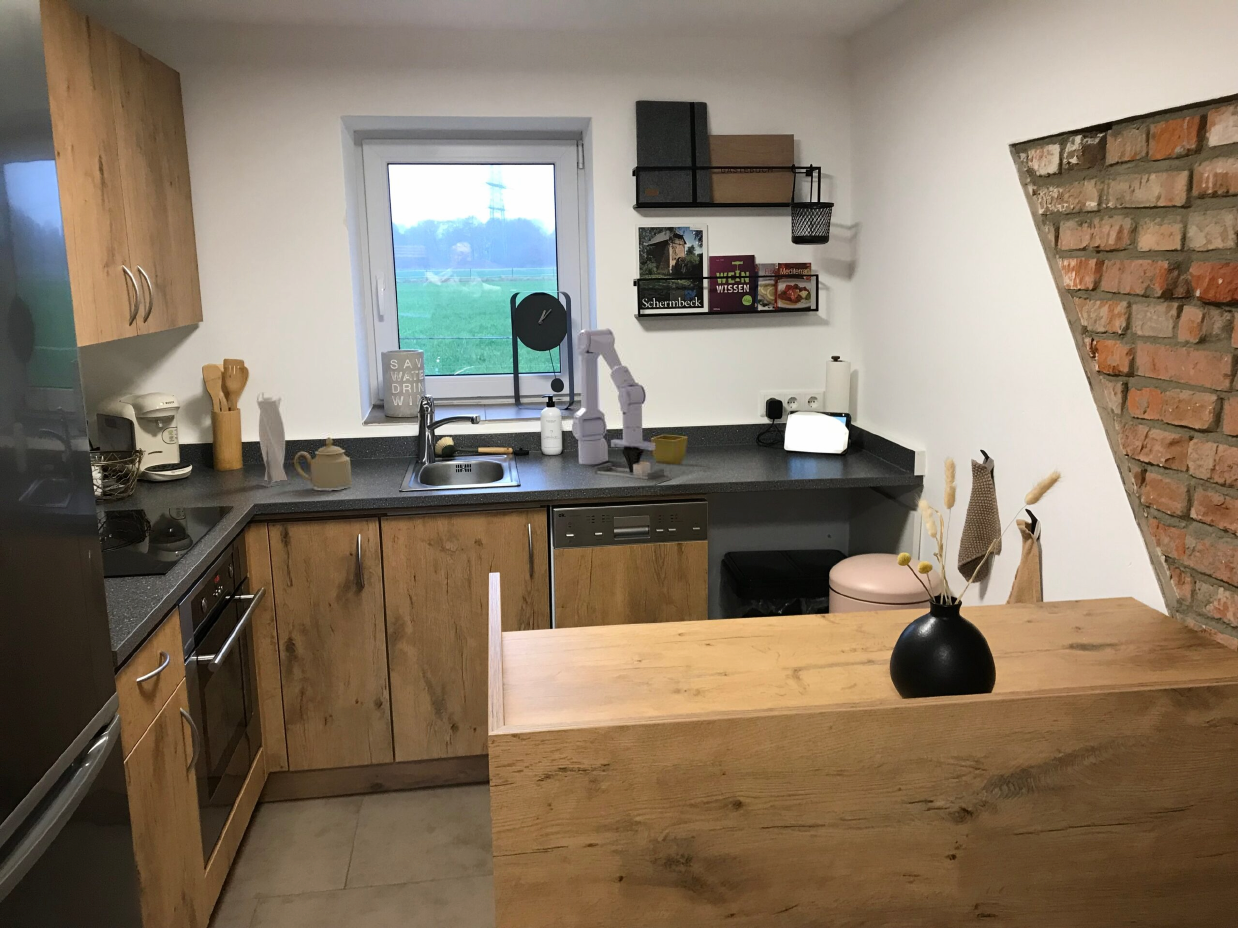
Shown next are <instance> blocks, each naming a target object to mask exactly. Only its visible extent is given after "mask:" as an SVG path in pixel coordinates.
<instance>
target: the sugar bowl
mask: <svg viewBox="0 0 1238 928" xmlns="http://www.w3.org/2000/svg"><path fill="white" fill-rule="evenodd" d="M325 444H326V446H323V447H320V448H319V449H318V450H317V451H315V454H316V456H315V457H314V458H313V459H312V458H311V455H310V454H309V453H308V452H306V451H300V452H298V453H297V454H296V455H295V456H294V467H295V469H296V470H297V472H298V474H299V475H300V476H301V477H302V478H304V479H305V480H307V481H309V482H310V483H311V484H312V488H313V487H317V488H338V487H346V486H349V485H351V486H352V470H351V458H350V457H348V456H346V455H345V451H346V450H345V449H342V448H341V447H340V446H335V445H333V439H332V438H331V437H329V436H327V438H326V441H325ZM300 456H304V457H306V460H307V462H308V466H309V468H310V472H311V477H310V476H309V475H308V474H306V472H304V471H303V469H301V467H300V465H299V458H300Z"/></svg>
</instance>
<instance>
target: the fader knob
mask: <svg viewBox="0 0 1238 928" xmlns="http://www.w3.org/2000/svg"><path fill="white" fill-rule="evenodd" d="M650 471H651V463H650V462H647V461H641V462H640V461H639V463H636V464H633V473H632V475H639V476H647V473H649V472H650Z"/></svg>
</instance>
